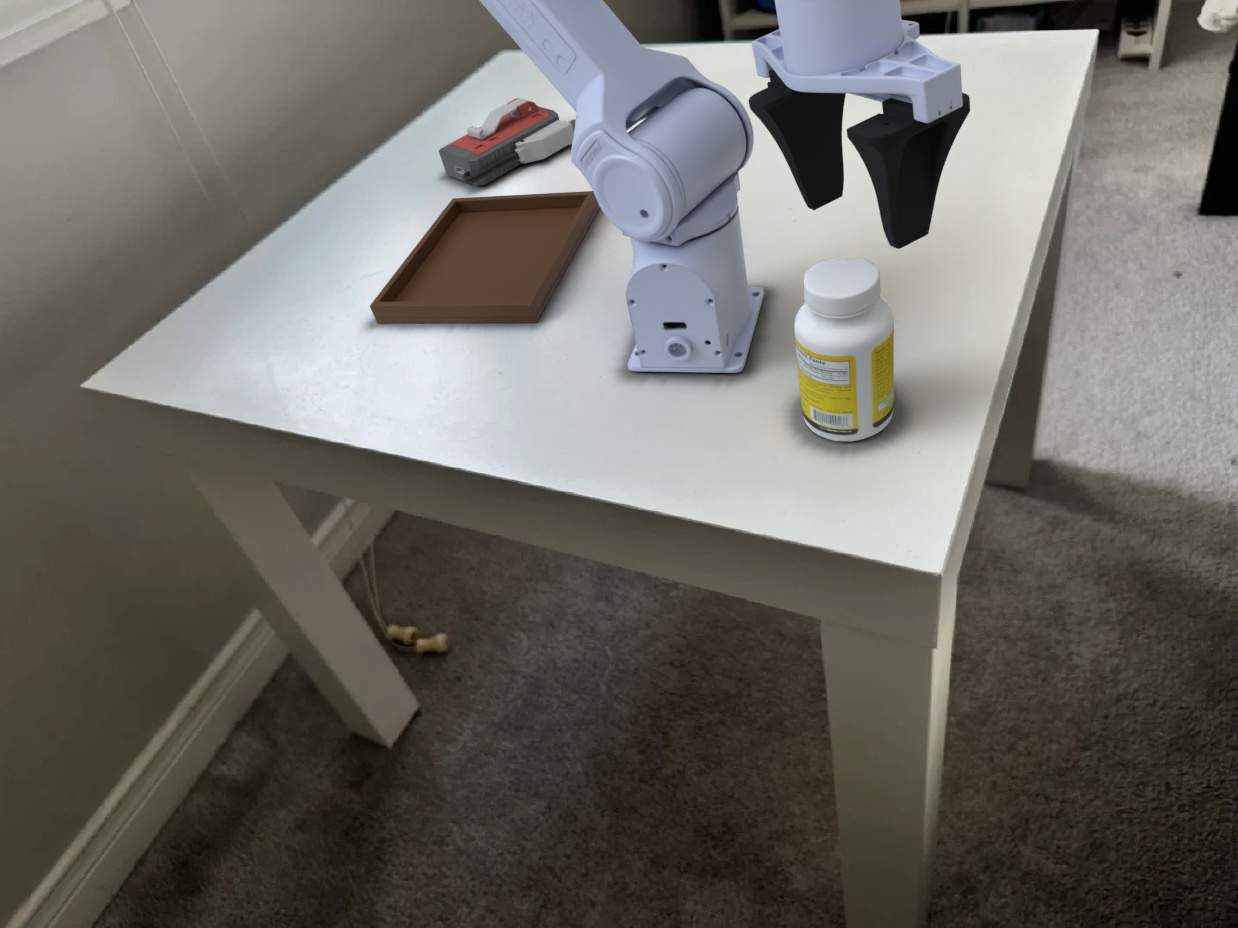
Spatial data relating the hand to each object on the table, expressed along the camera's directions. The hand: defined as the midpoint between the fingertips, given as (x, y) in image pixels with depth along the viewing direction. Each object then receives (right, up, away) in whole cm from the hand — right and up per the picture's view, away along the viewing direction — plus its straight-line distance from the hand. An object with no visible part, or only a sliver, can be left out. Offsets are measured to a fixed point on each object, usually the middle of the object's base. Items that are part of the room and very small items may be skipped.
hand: (864, 219), depth 50 cm
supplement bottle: (0, -11, +5) cm, 12 cm away
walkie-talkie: (-22, +19, +43) cm, 52 cm away
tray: (-24, +3, +26) cm, 36 cm away
